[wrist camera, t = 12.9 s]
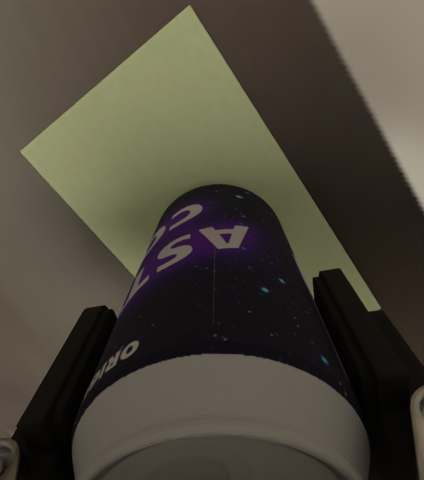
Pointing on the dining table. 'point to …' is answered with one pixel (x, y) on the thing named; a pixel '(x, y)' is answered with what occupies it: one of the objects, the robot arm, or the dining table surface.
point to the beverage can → (220, 360)
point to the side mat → (177, 152)
